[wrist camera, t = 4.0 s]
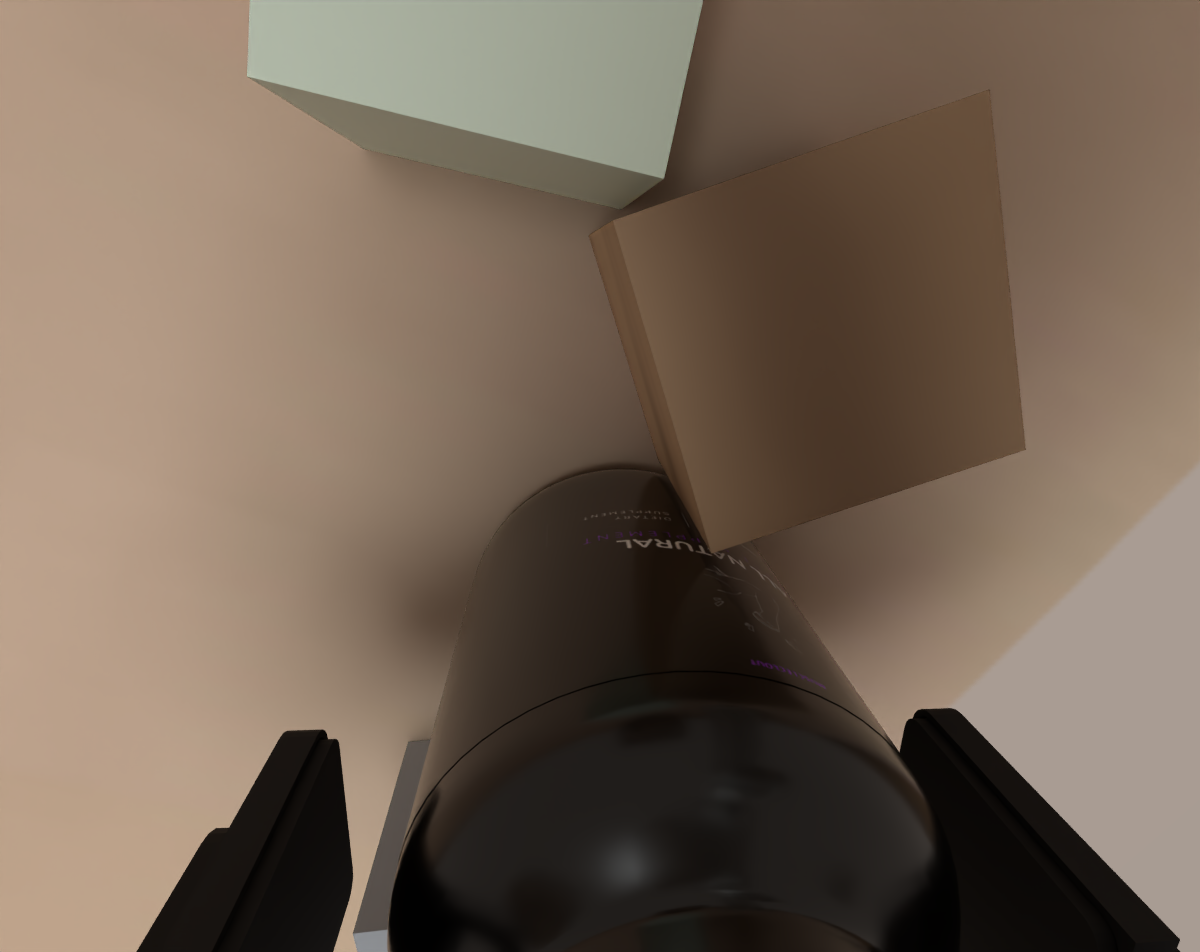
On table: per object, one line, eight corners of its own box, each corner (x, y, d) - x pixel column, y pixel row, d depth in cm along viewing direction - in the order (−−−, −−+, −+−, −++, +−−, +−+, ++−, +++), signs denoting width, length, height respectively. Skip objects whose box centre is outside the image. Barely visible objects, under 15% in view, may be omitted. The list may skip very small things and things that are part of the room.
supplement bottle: (722, 423, 14) (1407, 1052, 3) (772, 669, 16) (1273, 1569, 5) (427, 505, 14) (-23, 1433, 3) (518, 740, 17) (458, 1780, 5)
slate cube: (601, 720, 17) (623, 901, 12) (611, 862, 18) (633, 1071, 14) (408, 740, 16) (352, 933, 12) (435, 882, 18) (396, 1104, 13)
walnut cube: (824, 154, 13) (989, 88, 8) (867, 387, 14) (1025, 448, 10) (588, 235, 13) (613, 220, 8) (657, 458, 14) (711, 553, 10)
